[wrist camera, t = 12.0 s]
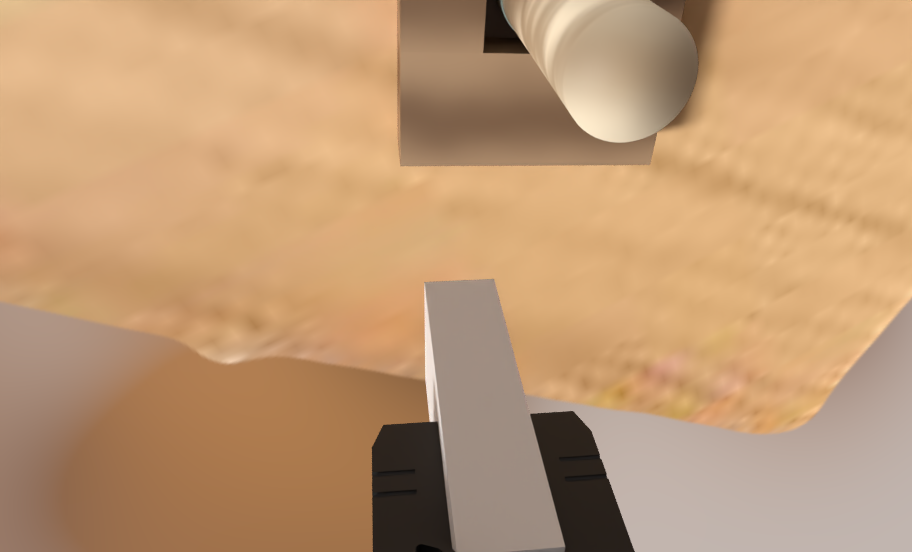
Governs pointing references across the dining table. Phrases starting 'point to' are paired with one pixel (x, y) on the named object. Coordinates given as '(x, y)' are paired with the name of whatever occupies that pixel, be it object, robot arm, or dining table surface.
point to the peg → (610, 61)
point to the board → (487, 94)
